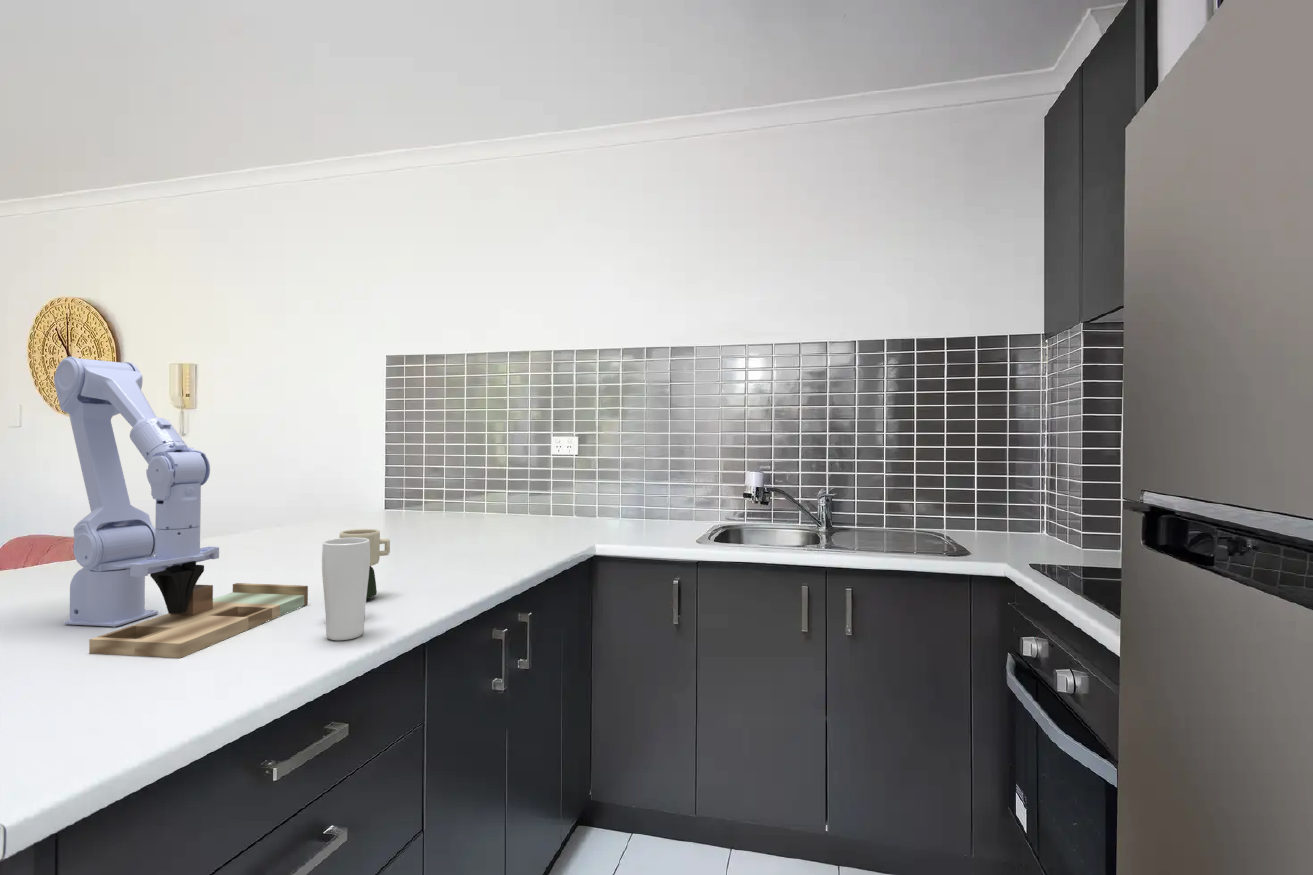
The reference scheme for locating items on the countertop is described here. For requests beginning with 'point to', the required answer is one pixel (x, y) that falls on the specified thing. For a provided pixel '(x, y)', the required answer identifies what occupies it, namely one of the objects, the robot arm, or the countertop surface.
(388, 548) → the character mug
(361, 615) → the drinking glass
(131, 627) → the wooden board
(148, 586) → the countertop surface
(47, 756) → the countertop surface
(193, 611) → the block
